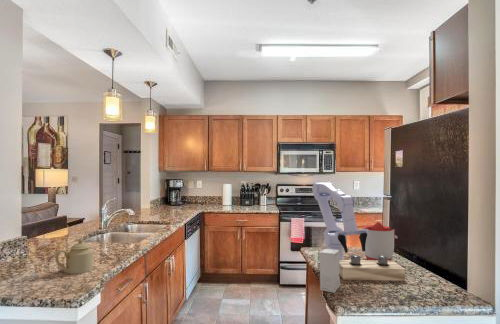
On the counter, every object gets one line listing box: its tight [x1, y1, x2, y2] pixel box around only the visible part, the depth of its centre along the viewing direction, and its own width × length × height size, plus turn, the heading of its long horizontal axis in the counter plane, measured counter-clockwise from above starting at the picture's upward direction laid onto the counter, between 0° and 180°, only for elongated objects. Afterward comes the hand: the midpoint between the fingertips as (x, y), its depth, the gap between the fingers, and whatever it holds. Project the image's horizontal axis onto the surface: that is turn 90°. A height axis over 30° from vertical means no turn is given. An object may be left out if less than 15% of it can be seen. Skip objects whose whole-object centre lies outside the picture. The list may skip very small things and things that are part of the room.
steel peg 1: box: [350, 254, 361, 266], centre depth 141 cm, size 4×4×5 cm
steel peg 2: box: [378, 255, 388, 266], centre depth 140 cm, size 4×4×5 cm
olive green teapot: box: [54, 237, 94, 275], centre depth 144 cm, size 15×11×15 cm
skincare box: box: [319, 248, 341, 294], centre depth 125 cm, size 8×6×15 cm
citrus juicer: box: [362, 221, 399, 261], centre depth 164 cm, size 16×17×20 cm
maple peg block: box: [339, 259, 406, 282], centre depth 140 cm, size 12×26×5 cm, turn 89°
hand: (355, 251), depth 139 cm, fingers open, 7 cm apart
